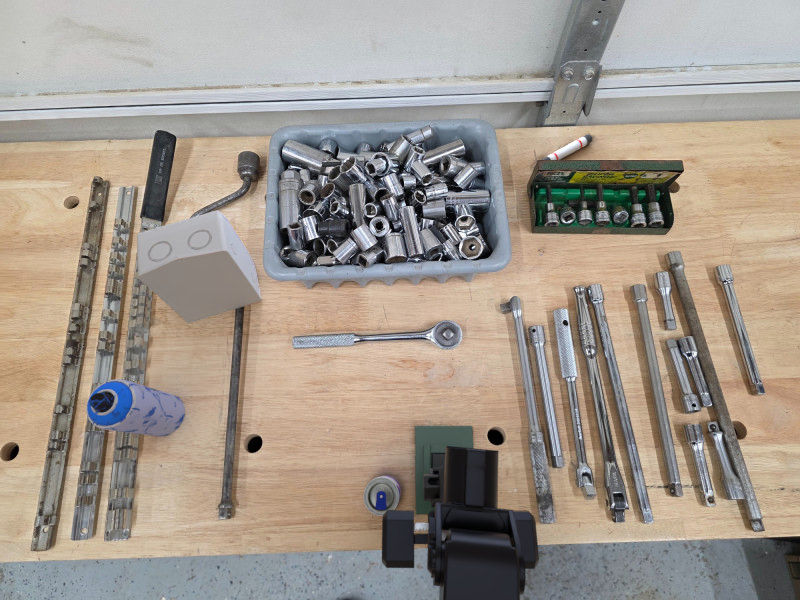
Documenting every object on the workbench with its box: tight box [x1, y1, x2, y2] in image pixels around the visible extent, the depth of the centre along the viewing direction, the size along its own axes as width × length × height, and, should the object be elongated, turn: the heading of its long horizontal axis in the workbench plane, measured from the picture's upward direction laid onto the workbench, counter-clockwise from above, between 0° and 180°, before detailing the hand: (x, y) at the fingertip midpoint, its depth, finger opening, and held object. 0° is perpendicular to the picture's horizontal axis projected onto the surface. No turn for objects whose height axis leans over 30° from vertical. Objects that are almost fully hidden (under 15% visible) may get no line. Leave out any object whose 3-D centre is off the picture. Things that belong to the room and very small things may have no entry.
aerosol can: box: [85, 378, 186, 438], centre depth 73 cm, size 8×8×20 cm
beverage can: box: [362, 475, 402, 517], centre depth 70 cm, size 5×5×15 cm
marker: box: [533, 133, 593, 169], centre depth 99 cm, size 15×2×2 cm, turn 121°
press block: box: [414, 425, 474, 515], centre depth 76 cm, size 14×10×4 cm
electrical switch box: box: [136, 210, 263, 324], centre depth 84 cm, size 15×15×20 cm
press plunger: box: [432, 454, 445, 469], centre depth 74 cm, size 4×4×2 cm
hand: (452, 529), depth 63 cm, fingers closed
